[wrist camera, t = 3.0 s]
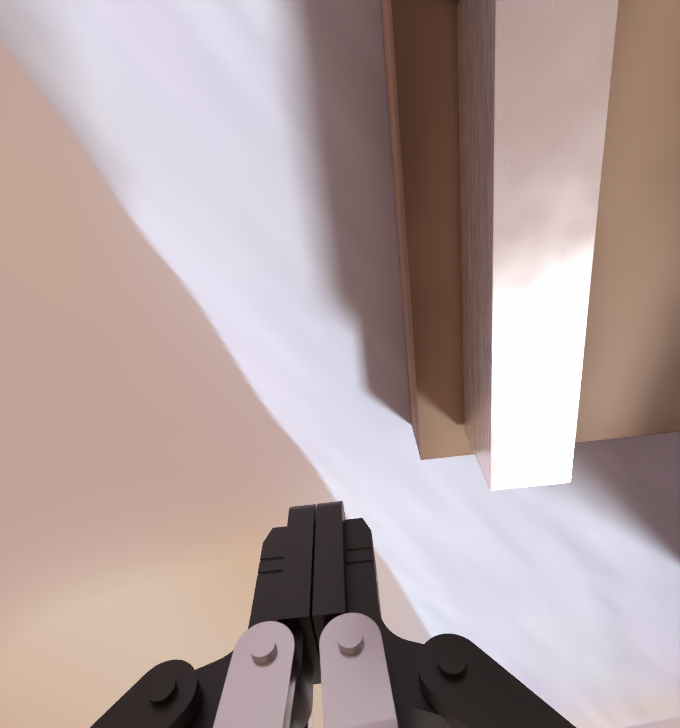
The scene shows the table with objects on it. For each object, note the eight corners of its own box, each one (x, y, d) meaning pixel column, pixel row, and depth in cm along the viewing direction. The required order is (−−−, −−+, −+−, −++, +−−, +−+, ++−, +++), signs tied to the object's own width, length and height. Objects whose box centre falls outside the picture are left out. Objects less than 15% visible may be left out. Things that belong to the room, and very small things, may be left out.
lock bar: (416, -189, 13) (463, -368, 9) (601, -220, 13) (753, -420, 8) (442, 434, 22) (472, 516, 17) (553, 422, 22) (614, 501, 17)
